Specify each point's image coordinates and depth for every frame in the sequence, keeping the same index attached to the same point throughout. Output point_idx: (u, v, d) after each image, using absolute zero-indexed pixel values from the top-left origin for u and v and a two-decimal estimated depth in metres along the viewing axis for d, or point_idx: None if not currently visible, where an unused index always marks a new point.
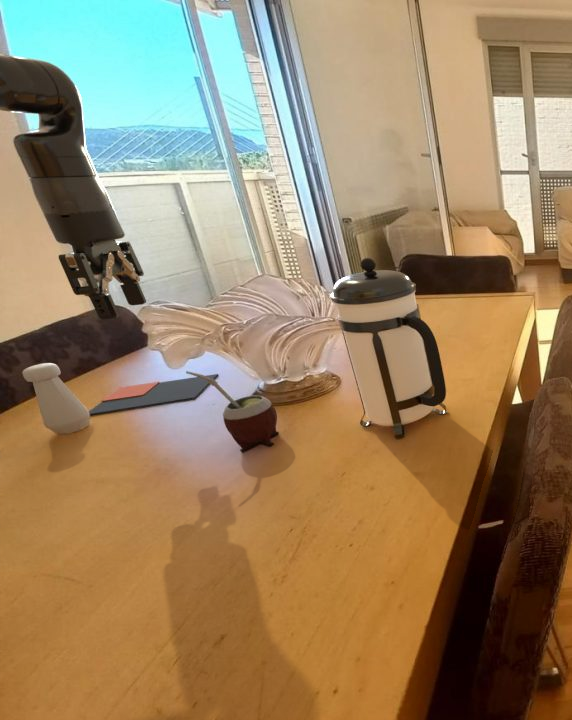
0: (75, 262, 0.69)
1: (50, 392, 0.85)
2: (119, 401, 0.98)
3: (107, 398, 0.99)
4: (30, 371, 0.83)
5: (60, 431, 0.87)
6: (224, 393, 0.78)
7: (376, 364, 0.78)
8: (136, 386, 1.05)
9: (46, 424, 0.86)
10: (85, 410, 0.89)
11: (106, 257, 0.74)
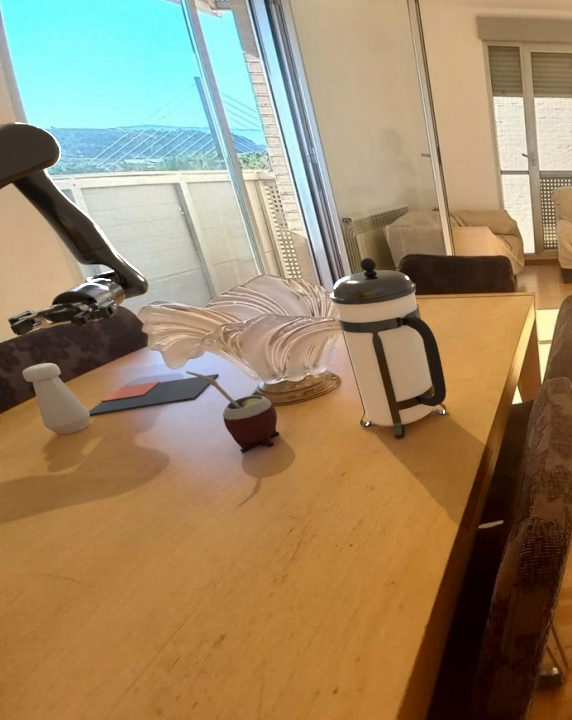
0: (116, 308, 1.01)
1: (50, 392, 0.85)
2: (119, 401, 0.98)
3: (107, 398, 0.99)
4: (30, 371, 0.83)
5: (60, 431, 0.87)
6: (224, 393, 0.78)
7: (376, 364, 0.78)
8: (136, 386, 1.05)
9: (46, 424, 0.86)
10: (85, 410, 0.89)
11: None
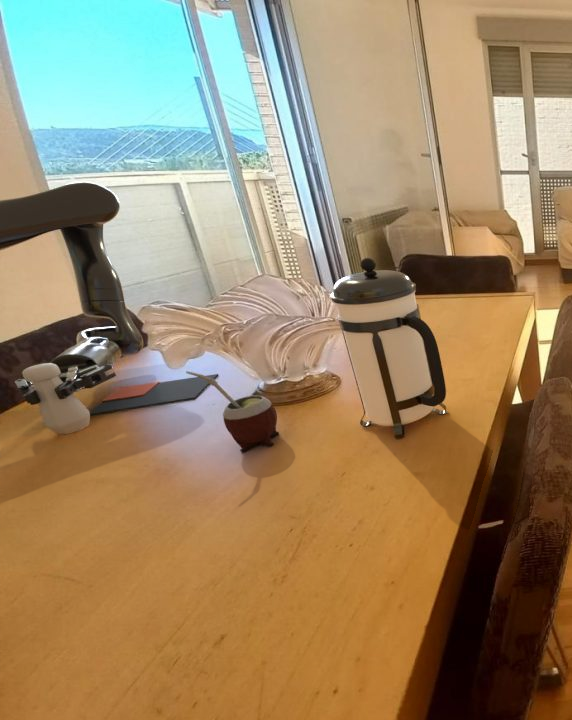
0: (111, 374, 0.94)
1: (50, 392, 0.85)
2: (119, 401, 0.98)
3: (107, 398, 0.99)
4: (30, 371, 0.83)
5: (60, 431, 0.87)
6: (224, 393, 0.78)
7: (376, 364, 0.78)
8: (136, 386, 1.05)
9: (46, 424, 0.86)
10: (85, 410, 0.89)
11: None
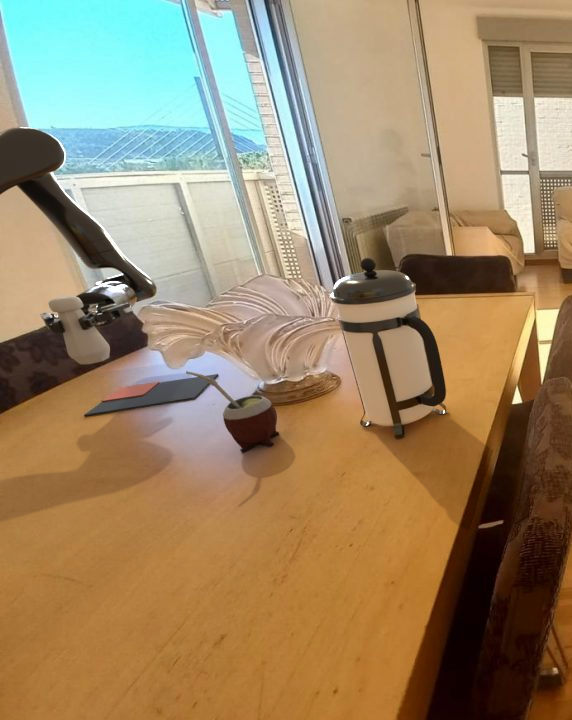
0: (129, 311, 0.99)
1: (73, 323, 0.90)
2: (119, 401, 0.98)
3: (107, 398, 0.99)
4: (55, 302, 0.88)
5: (83, 361, 0.93)
6: (224, 393, 0.78)
7: (376, 364, 0.78)
8: (136, 386, 1.05)
9: (70, 353, 0.91)
10: (106, 343, 0.95)
11: None
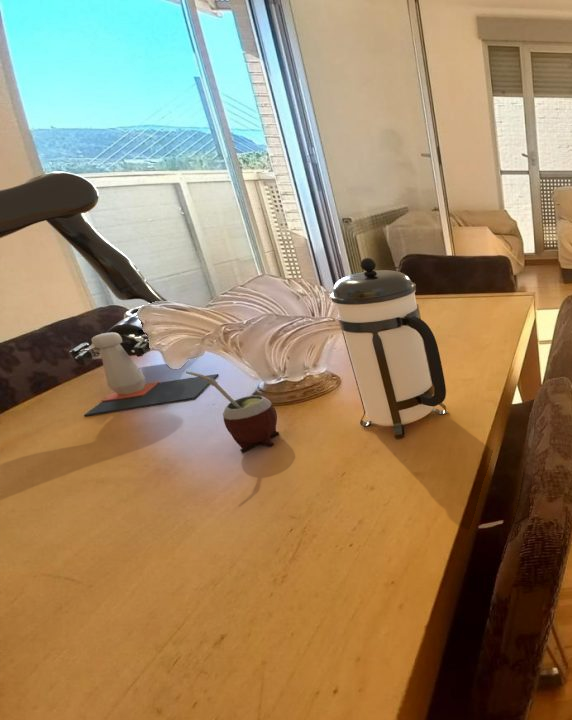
0: None
1: (113, 357, 0.98)
2: (119, 401, 0.98)
3: (107, 398, 0.99)
4: (98, 338, 0.96)
5: (121, 391, 1.00)
6: (224, 393, 0.78)
7: (376, 364, 0.78)
8: None
9: (110, 385, 0.99)
10: (141, 374, 1.03)
11: None
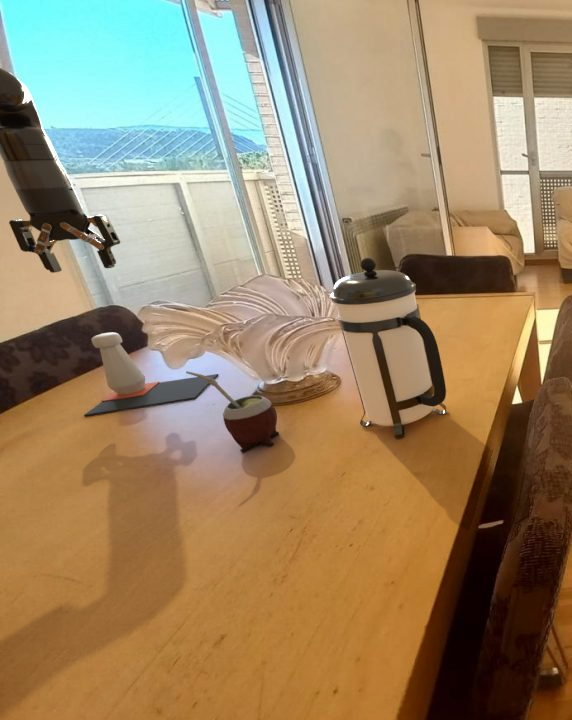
0: (107, 220, 0.96)
1: (113, 357, 0.98)
2: (119, 401, 0.98)
3: (107, 398, 0.99)
4: (98, 338, 0.96)
5: (121, 391, 1.00)
6: (224, 393, 0.78)
7: (376, 364, 0.78)
8: None
9: (110, 385, 0.99)
10: (141, 374, 1.03)
11: None
